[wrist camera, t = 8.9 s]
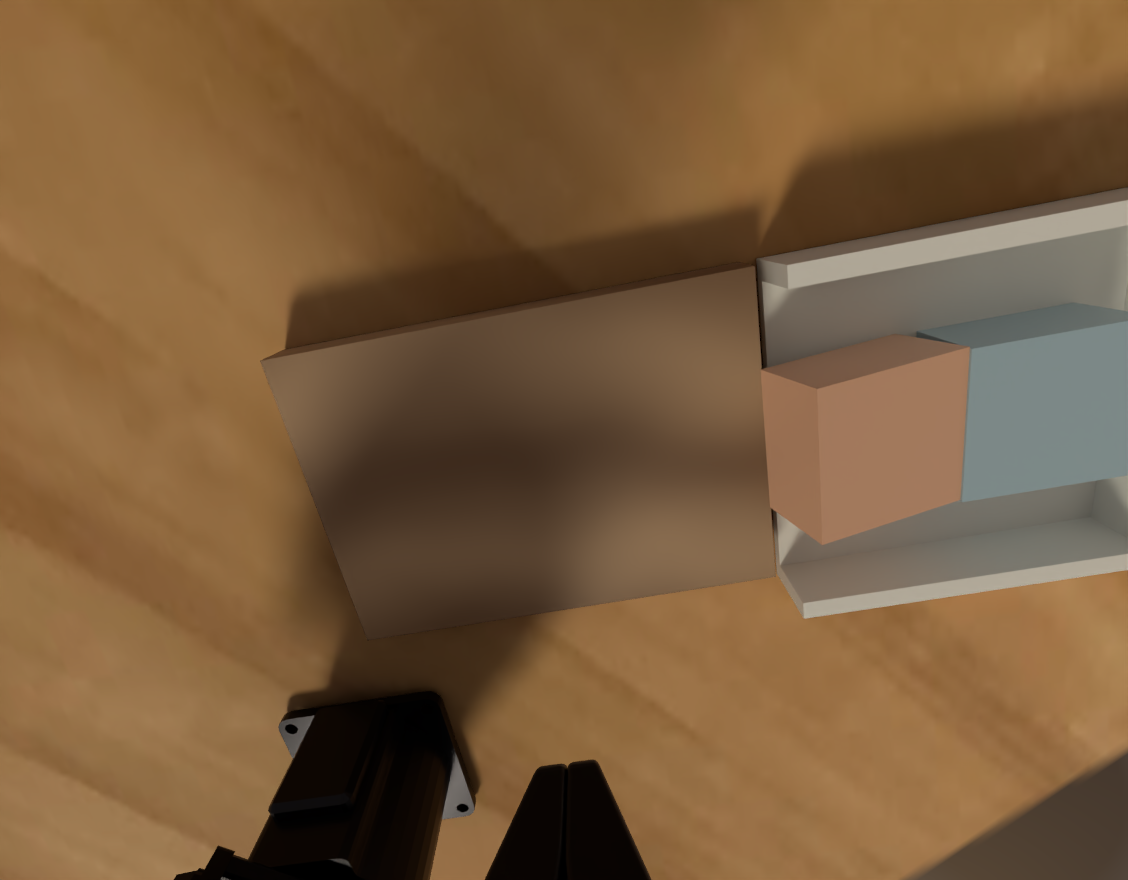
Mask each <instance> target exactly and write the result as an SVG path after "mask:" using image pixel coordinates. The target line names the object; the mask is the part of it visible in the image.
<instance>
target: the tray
mask: <svg viewBox="0 0 1128 880" xmlns="http://www.w3.org/2000/svg"><path fill="white" fill-rule="evenodd" d="M756 262H757V278H758V293H759V308H760V323H761V339H762V354H763V369H764V368H768V367H772V366H776V365H779V364H783V363H787V362H791V361H794V360H798V359H802V358H806V357H809V356H813V355H817V354H821V353H825V352H828V351H832V350H836V349H840V348H843V347H847V346H851V345H855V344H858V343H862V342H866V341H870V340H874V339H877V338H881V337H885V336H889V335H892V334H900V335H906V336H911V337H916V332H917V331H920V330H926V329H931V328H936V327H942V326H947V325H953V324H958V323H964V322H969V321H975V320H980V319H986V318H991V317H997V316H1002V315H1008V314H1013V313H1018V312H1024V311H1029V310H1035V309H1040V308H1046V307H1051V306H1057V305H1062V304H1068V303H1073V302H1074V303H1080V304H1087V305H1093V306H1099V307H1105V308H1111V309H1117V310H1123V311H1128V187H1126V188H1120V189H1115V190H1110V191H1105V192H1100V193H1095V194H1089V195H1084V196H1079V197H1074V198H1069V199H1063V200H1058V201H1053V202H1048V203H1043V204H1037V205H1032V206H1027V207H1022V208H1017V209H1012V210H1006V211H1001V212H996V213H991V214H986V215H980V216H975V217H970V218H965V219H960V220H954V221H949V222H944V223H939V224H934V225H928V226H923V227H918V228H913V229H908V230H903V231H897V232H892V233H887V234H882V235H877V236H871V237H866V238H861V239H856V240H851V241H845V242H840V243H835V244H830V245H825V246H819V247H814V248H809V249H804V250H799V251H794V252H788V253H783V254H778V255H773V256H768V257H762V258H757V259H756ZM773 521H774V537H775V552H776V567H777V575H778V576H779V578H780V580H781V581H782V583H783V585H784V586H785V588H786V590H787V591H788V593H789V595H790V596H791V598H792V600H793V601H794V603H795V605H796V606H797V608H798V610H799V611H800V613H801V615H802V616H803V618H804V619H805V618H812V617H818V616H825V615H832V614H838V613H845V612H851V611H858V610H865V609H871V608H878V607H885V606H891V605H898V604H905V603H911V602H918V601H924V600H931V599H938V598H944V597H951V596H958V595H964V594H971V593H978V592H984V591H991V590H997V589H1004V588H1011V587H1017V586H1024V585H1031V584H1037V583H1044V582H1051V581H1057V580H1064V579H1070V578H1077V577H1084V576H1090V575H1097V574H1104V573H1110V572H1117V571H1124V570H1128V475H1127V476H1121V477H1115V478H1109V479H1102V480H1096V481H1090V482H1084V483H1078V484H1072V485H1066V486H1059V487H1053V488H1047V489H1041V490H1035V491H1029V492H1023V493H1016V494H1010V495H1004V496H998V497H992V498H986V499H980V500H973V501H967V502H961V501H959V500H958V501H955V502H952V503H949V504H946V505H943V506H940V507H937V508H934V509H931V510H928V511H925V512H922V513H919V514H916V515H913V516H910V517H907V518H904V519H901V520H897V521H894V522H891V523H888V524H885V525H882V526H879V527H876V528H873V529H870V530H867V531H864V532H861V533H858V534H855V535H852V536H849V537H846V538H843V539H840V540H836V541H833V542H830V543H827V544H824V545H821V544H820V543H819V542H817V541H816V540H815V539H813V538H812V537H810V536H809V535H808V534H806V533H805V532H803V531H802V530H801V529H799V528H798V527H796V526H795V525H794V524H792V523H791V522H790V521H788V520H787V519H785V518H784V517H783V516H781V515H780V514H778V513H777V512H776V511H774V510H773Z"/></svg>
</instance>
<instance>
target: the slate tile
mask: <svg viewBox="0 0 1128 880" xmlns="http://www.w3.org/2000/svg"><path fill="white" fill-rule="evenodd" d="M916 337H917V338H923V339H929V340H934V341H940V342H946V343H951V344H957V345H963V346H969V347H970V354H969V370H968V386H967V402H966V418H965V434H964V450H963V466H962V482H961V498H960V500H959V501H961V502H967V501H973V500H980V499H986V498H992V497H998V496H1004V495H1010V494H1016V493H1023V492H1029V491H1035V490H1041V489H1047V488H1053V487H1059V486H1066V485H1072V484H1078V483H1084V482H1090V481H1096V480H1102V479H1109V478H1115V477H1121V476H1127V475H1128V311H1123V310H1117V309H1111V308H1105V307H1099V306H1093V305H1087V304H1080V303H1074V302H1073V303H1068V304H1062V305H1057V306H1051V307H1046V308H1040V309H1035V310H1029V311H1024V312H1018V313H1013V314H1008V315H1002V316H997V317H991V318H986V319H980V320H975V321H969V322H964V323H958V324H953V325H947V326H942V327H936V328H931V329H926V330H920V331H917V332H916Z"/></svg>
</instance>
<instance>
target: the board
mask: <svg viewBox="0 0 1128 880" xmlns="http://www.w3.org/2000/svg"><path fill="white" fill-rule="evenodd" d="M260 362H261V364H262V367H263V370H264V372H265V375H266V377H267V380H268V383H269V385H270V388H271V390H272V393H273V396H274V398H275V401H276V403H277V406H278V409H279V411H280V414H281V416H282V419H283V422H284V424H285V427H286V429H287V432H288V435H289V437H290V440H291V442H292V445H293V448H294V450H295V453H296V455H297V458H298V461H299V463H300V466H301V468H302V471H303V474H304V476H305V479H306V482H307V484H308V487H309V489H310V492H311V495H312V497H313V500H314V502H315V505H316V508H317V510H318V513H319V515H320V518H321V521H322V523H323V526H324V528H325V531H326V534H327V536H328V539H329V541H330V544H331V547H332V549H333V552H334V554H335V557H336V560H337V562H338V565H339V567H340V570H341V573H342V575H343V578H344V580H345V583H346V586H347V588H348V591H349V593H350V596H351V599H352V601H353V604H354V606H355V609H356V612H357V614H358V617H359V619H360V622H361V625H362V627H363V630H364V633H365V635H366V638H367V640H373V639H380V638H386V637H393V636H399V635H405V634H412V633H418V632H425V631H431V630H437V629H444V628H450V627H457V626H463V625H470V624H476V623H482V622H489V621H495V620H502V619H508V618H514V617H521V616H527V615H534V614H540V613H546V612H553V611H559V610H566V609H572V608H579V607H585V606H591V605H598V604H604V603H611V602H617V601H623V600H630V599H636V598H643V597H649V596H655V595H662V594H668V593H675V592H681V591H688V590H694V589H700V588H707V587H713V586H720V585H726V584H732V583H739V582H745V581H752V580H758V579H765V578H771V577H776V574H775V559H774V544H773V529H772V514H771V508H770V500H769V485H768V471H767V457H766V442H765V428H764V414H763V399H762V385H761V370H760V369H762V365H761V350H760V335H759V320H758V305H757V290H756V275H755V266H753V265H749V264H745V263H741V262H736V263H731V264H726V265H721V266H716V267H710V268H705V269H700V270H695V271H690V272H685V273H679V274H674V275H669V276H664V277H659V278H653V279H648V280H643V281H638V282H633V283H627V284H622V285H617V286H612V287H607V288H601V289H596V290H591V291H586V292H581V293H576V294H570V295H565V296H560V297H555V298H550V299H544V300H539V301H534V302H529V303H524V304H518V305H513V306H508V307H503V308H498V309H493V310H487V311H482V312H477V313H472V314H467V315H461V316H456V317H451V318H446V319H441V320H435V321H430V322H425V323H420V324H415V325H409V326H404V327H399V328H394V329H389V330H384V331H378V332H373V333H368V334H363V335H358V336H352V337H347V338H342V339H337V340H332V341H326V342H321V343H316V344H311V345H306V346H300V347H295V348H290V349H285V350H282V351H280V352H278V353H276V354H274V355H272V356H270V357H267V358H265V359H263V360H261V361H260Z"/></svg>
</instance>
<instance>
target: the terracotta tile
mask: <svg viewBox="0 0 1128 880" xmlns="http://www.w3.org/2000/svg"><path fill="white" fill-rule="evenodd" d="M969 354H970V347H969V346H963V345H957V344H951V343H946V342H940V341H934V340H929V339H923V338H917V337H911V336H906V335H900V334H892V335H889V336H885V337H881V338H877V339H874V340H870V341H866V342H862V343H858V344H855V345H851V346H847V347H843V348H840V349H836V350H832V351H828V352H825V353H821V354H817V355H813V356H809V357H806V358H802V359H798V360H794V361H791V362H787V363H783V364H779V365H776V366H772V367H768V368H764V369H760V370H761V385H762V399H763V414H764V428H765V442H766V457H767V471H768V485H769V500H770V508H772V509H773V510H774V511H776V512H777V513H778V514H780V515H781V516H783V517H784V518H785V519H787V520H788V521H790V522H791V523H792V524H794V525H795V526H796V527H798V528H799V529H801V530H802V531H803V532H805V533H806V534H808V535H809V536H810V537H812V538H813V539H815V540H816V541H817V542H819V543H820V544H821V545H824V544H827V543H830V542H833V541H836V540H840V539H843V538H846V537H849V536H852V535H855V534H858V533H861V532H864V531H867V530H870V529H873V528H876V527H879V526H882V525H885V524H888V523H891V522H894V521H897V520H901V519H904V518H907V517H910V516H913V515H916V514H919V513H922V512H925V511H928V510H931V509H934V508H937V507H940V506H943V505H946V504H949V503H952V502H955V501H958V500H960V498H961V482H962V466H963V450H964V434H965V418H966V402H967V386H968V370H969Z"/></svg>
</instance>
